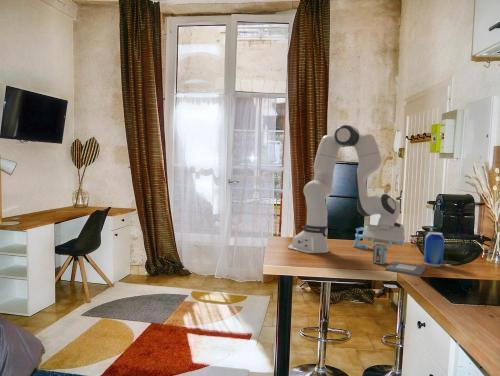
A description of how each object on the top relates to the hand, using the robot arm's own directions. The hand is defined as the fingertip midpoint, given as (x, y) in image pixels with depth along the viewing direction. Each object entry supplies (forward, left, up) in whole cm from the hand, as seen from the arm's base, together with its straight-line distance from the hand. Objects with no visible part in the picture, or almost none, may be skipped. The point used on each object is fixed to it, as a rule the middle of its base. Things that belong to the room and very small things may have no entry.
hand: (379, 248), depth 192 cm
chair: (-19, +31, -7) cm, 37 cm away
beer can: (+22, +16, -7) cm, 28 cm away
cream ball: (+1, +1, -2) cm, 3 cm away
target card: (+13, -2, -7) cm, 15 cm away
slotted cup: (0, +1, -7) cm, 7 cm away
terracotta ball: (0, 0, -5) cm, 5 cm away
